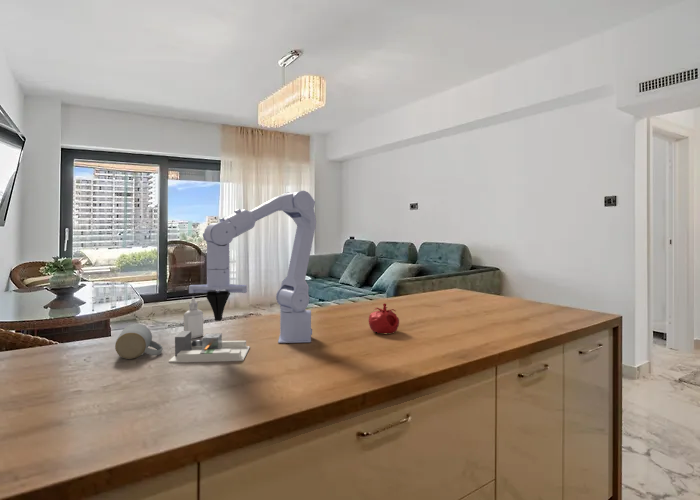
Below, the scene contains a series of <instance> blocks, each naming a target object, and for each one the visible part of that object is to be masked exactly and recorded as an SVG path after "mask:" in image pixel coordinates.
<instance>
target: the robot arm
mask: <svg viewBox="0 0 700 500" xmlns="http://www.w3.org/2000/svg"><path fill="white" fill-rule="evenodd" d="M315 204H316V200H315V199H314V198H313V196H312V195H311V193H309V192H308V191H306V190H300V191H293V192H289V191H288V192H284V193H283V194H279V195H276V196H274V197H272V198H271V199H269V200H267V201H265V202H264V203H262V204H260V205H258V206H256V207H255V208H252V209H251V210H248V209H246V208H245V209H244V208H243V209H241V208H237V209H235V210H234V213H233V214H231V215H228V216H226V217H225V218H224V217H221V218H219V219H218V222H213V223H209V224H208V225H206V227H205V228H204V232H203V233H202V237H203V239H204V241H205V243H206V284H190V285H188V294H194V293H195V294H198V293H199V294H200V293H201V294H204V293H205V294H206V296H205V298H206V299H207V301H208V303H209V305H210V307H211V309H212V312H213V317H214V321H215V322H218V321H219V322H221V321H222V320H223V314H224V311H225V307H226V304H227V301H228V299H229V297H230V295H231V293H234V294H235V293H237V294H238V293H243V294H247V293H248V284H236V283H232V284H231V283H230V282H231V280H230V279H231V275H230V273H231V272H230V271H231V266H230V265H231V264H230V262H231V261H230V260H231V259H230V251H231V250H230V244H231V242H232V241H233V239H235V238H236V237H239V236H241V235H243V234H244V233H247V232H248V231H250V230H252V229H254V227H255V224H256V222H257V221H260V220H261V219H263V218H265V217H268V216H270V215H272V214H274V213H277V212H280V211H281V212H283V213H284V214H285V215H287V216H288V217H289V218H291V219H292V220H293V222H294V223H295V225H296V230H295V235H294V240H293V245H292V251H291V256H290V260H289V264H288V269H287V270H288V271H287V276H286V277H284V279H283V280H282V281H281V284H280V287H279V288H278V290H277V292H276V295H275V299H276V300H275V301H276V302H277V303H278V305H279V311H280V312H279V313H280V314H279V315H280V316H279V317H280V320H279V327H280V331H279V336H278V341H277V343H278V344H286V343H287V344H288V343H289V344H296V343H312V335H313V329H312V310H311V309H307V307H308V306H309V303H310V295H309V290H310V286H309V284H308V283H307V281H306V277H307V271H308V267H309V261H310V256H311V251H312V246H313V241H314V238H315V237H314V235H315V233H316V231H315V230H316V225H317V218H316V213H315Z"/></svg>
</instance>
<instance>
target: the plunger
mask: <svg viewBox="0 0 700 500" xmlns="http://www.w3.org/2000/svg"><path fill="white" fill-rule="evenodd" d="M222 335H223V333H220V332H219V333H206V334H205V335H204V336H202V339H196V340H193V339H192V347H199V346H202V350H203V349H204V350H207V349H221V348H222V341H223V339H222V338H223V337H222Z"/></svg>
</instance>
